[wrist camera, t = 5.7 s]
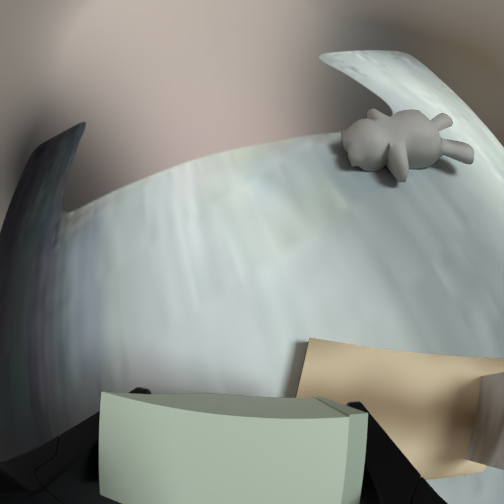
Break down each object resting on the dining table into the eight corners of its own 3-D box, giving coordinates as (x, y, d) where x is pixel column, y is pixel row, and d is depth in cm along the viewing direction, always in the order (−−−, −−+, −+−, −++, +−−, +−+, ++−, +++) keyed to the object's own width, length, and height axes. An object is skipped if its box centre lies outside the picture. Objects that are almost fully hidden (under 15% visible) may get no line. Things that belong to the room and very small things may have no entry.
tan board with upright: (473, 467, 13) (543, 485, 4) (277, 462, 17) (264, 515, 8) (494, 361, 17) (569, 336, 8) (308, 341, 21) (319, 308, 12)
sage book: (318, 449, 12) (354, 533, 3) (207, 443, 13) (100, 495, 4) (321, 396, 14) (368, 413, 5) (210, 392, 15) (101, 389, 6)
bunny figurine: (332, 105, 27) (445, 95, 25) (335, 138, 32) (438, 125, 29) (362, 166, 23) (487, 150, 20) (359, 200, 28) (473, 180, 25)
